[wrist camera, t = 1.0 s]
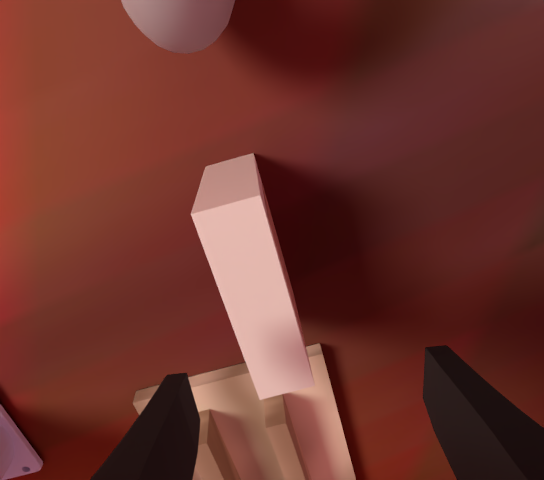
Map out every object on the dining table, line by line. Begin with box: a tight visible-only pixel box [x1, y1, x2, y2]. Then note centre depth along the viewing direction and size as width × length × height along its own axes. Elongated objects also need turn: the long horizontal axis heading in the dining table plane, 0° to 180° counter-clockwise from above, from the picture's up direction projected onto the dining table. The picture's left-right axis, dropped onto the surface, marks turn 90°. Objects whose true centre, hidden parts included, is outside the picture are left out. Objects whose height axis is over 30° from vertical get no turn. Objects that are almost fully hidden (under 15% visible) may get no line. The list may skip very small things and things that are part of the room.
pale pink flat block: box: [191, 153, 315, 400], centre depth 19 cm, size 2×9×7 cm, turn 15°
